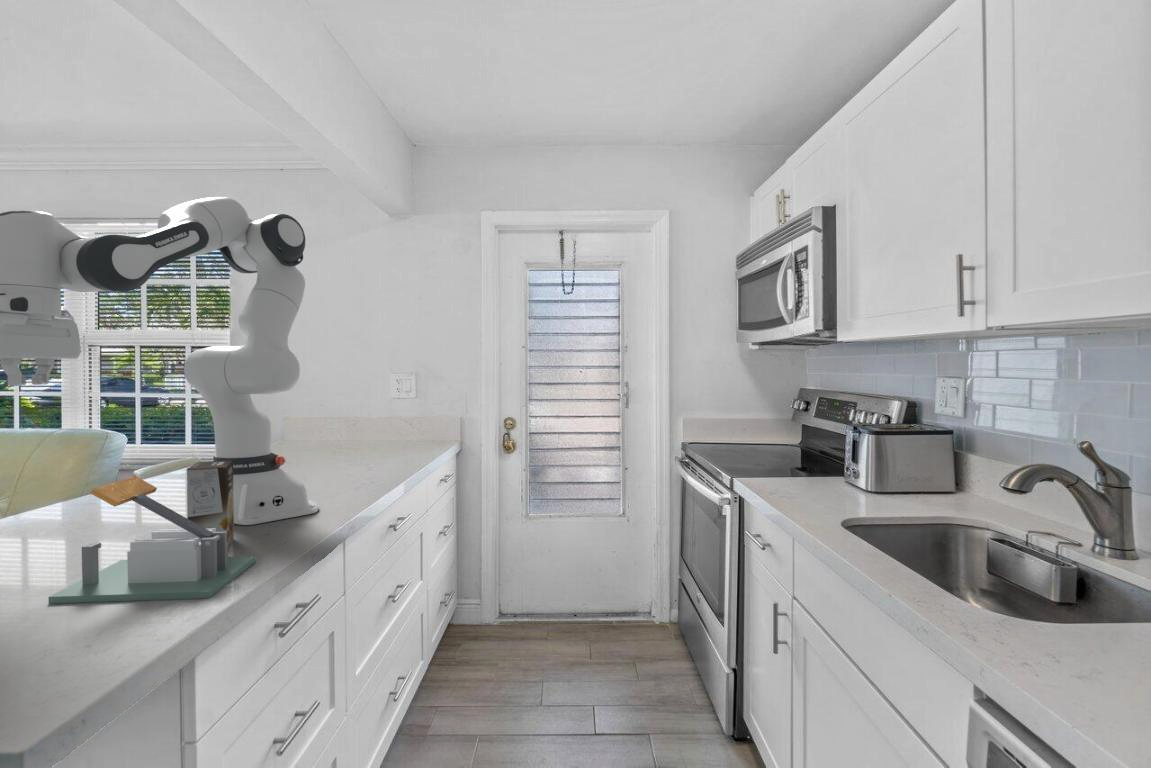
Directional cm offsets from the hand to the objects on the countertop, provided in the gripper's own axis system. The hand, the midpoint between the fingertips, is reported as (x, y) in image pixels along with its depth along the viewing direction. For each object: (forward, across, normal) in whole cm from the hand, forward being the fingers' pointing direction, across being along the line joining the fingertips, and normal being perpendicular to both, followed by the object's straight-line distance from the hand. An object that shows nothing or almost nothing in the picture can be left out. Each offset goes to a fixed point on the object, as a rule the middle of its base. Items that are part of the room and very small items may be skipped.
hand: (29, 385), depth 101 cm
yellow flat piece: (+20, +11, +27) cm, 35 cm away
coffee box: (+31, -6, +26) cm, 41 cm away
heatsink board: (+31, +11, +27) cm, 43 cm away
